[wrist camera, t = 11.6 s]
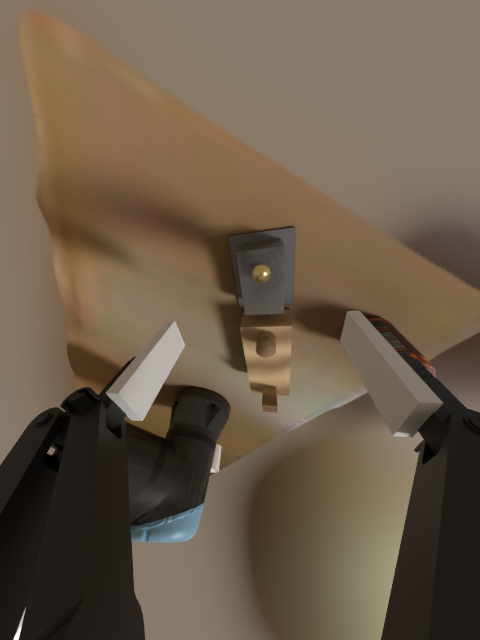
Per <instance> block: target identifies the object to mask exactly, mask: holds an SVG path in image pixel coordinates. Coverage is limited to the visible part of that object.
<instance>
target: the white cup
mask: <svg viewBox="0 0 480 640" xmlns="http://www.w3.org/2000/svg"><path fill="white" fill-rule="evenodd" d="M220 455H221V446H220V445H218V444H216V447H215V452H214V457H213V462H212V467H211V472H210V473H218V472H219V464H220Z"/></svg>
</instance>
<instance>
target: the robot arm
mask: <svg viewBox="0 0 480 640" xmlns="http://www.w3.org/2000/svg"><path fill="white" fill-rule="evenodd" d="M340 342H341V344H342V346H343V348H344V350H345V351H346V353H347V355H348V357H349V358H350V360H351V362H352V364H353V366H354V367H355V369H356V371H357V373H358V375H359V376H360V378H361V380H362V382H363V383H364V385H365V387H366V389H367V391H368V392H369V394H370V396H371V398H372V399H373V401H374V403H375V405H376V407H377V408H378V410H379V412H380V414H381V416H382V417H383V419H384V421H385V423H386V424H387V426H388V428H389V430H390V432H391V433H392V435H393V436H400V437H413V436H414V435H415V434H416V433H417V431H419V432H420V434H421V436H422V437H423V439H424V440H423V441H422V442H421V443H420V444H419V445H418V446H417V447H416V448H415V450H414V451H415V452H418V451H420V452H419V457H418V462H417V467H416V472H415V476H414V482H413V486H412V491H411V496H410V501H409V506H408V511H407V516H406V521H405V526H404V530H403V535H402V540H401V545H400V550H399V555H398V560H397V564H396V569H395V574H394V579H393V584H392V589H391V594H390V598H389V604H388V608H387V613H386V618H385V623H384V628H383V633H382V638H381V640H480V413H479V412H476V411H473V410H470V409H467V408H466V407H465V406H464V405H463V404H462V403H461V402H460V401H459V400H458V399H457V398H456V397H455V396H454V395H453V394H451V392H450V391H449V390H448V389H447V388H446V387H445V386H444V385H443V384H442V383H441V382H440V381H439V380H438V379H437V378H435V377H434V375H433V374H432V373H431V372H430V371H429V370H427V368H426V367H425V366H424V365H423V364H422V363H421V362H420V361H419V360H417V359H416V358H414V357H412V356H411V355H409V354H408V353H397V352H396V350H395V349H394V348H393V347H392V346H391V345H390V344H389V343H388V342H387V341H386V339H385V338H384V337H383V336H382V335H381V334H380V333H379V332H378V331H377V330H376V328H375V327H374V326H373V325H372V324H371V323H370V322H369V321H368V320H367V319H366V317H365V316H364V315H363V314H362V313H361V312H360V311H347V314H346V318H345V322H344V326H343V330H342V335H341V339H340ZM184 347H185V344H184V341H183V339H182V337H181V334H180V332H179V330H178V327H177V325H176V322H175V321H166V322H165V323H164V324H163V326H162V327H161V328H160V329H159V330H158V332H157V333H156V334H155V335H154V336H153V337H152V339H151V340H150V341H149V342H148V343H147V345H146V346H145V347H144V348H143V349H142V350H141V352H140V353H139V354H138V355H137V356H136V357H134V358H133V359H131V360H130V361H129V362H127V363H126V364H125V365H124V367H123V368H122V369H121V370H120V371H119V372H118V374H117V376H115V377H114V378H113V379H112V380H111V382H110V383H109V384H108V385H107V386H106V387H105V388H104V390H103V391H102V392H101V393H100V394H99V395H97V394H96V393H95V392H94V391H93V390H92V389H91V388H89V387H84V388H81V389H79V390H77V391H75V392H74V393H72V394H71V395H69V396H68V397H67V398H66V399H65V400H64V401H63V402H62V404H61V406H60V407H62V408H63V409H64V410H65V412H64V411H62V410H61V409H59V408H57V407H55V408H51V409H48V410H46V411H44V412H42V413H41V414H40V415H38V416H37V417H36V418H35V419H34V420H33V421H32V422H31V423H30V424H29V425H28V427H27V428H26V430H25V431H24V432H23V434H22V435H21V437H20V438H19V439H18V441H17V442H16V444H15V445H14V447H13V448H12V450H11V451H10V452H9V454H8V455H7V457H6V458H5V460H4V461H3V462H2V464H1V465H0V640H145V633H144V621H143V615H142V610H141V607H140V605H139V602H138V600H137V599H136V596H135V592H134V580H133V560H132V541H138V542H163V543H164V542H184V541H187V540H189V539H191V538H192V537H193V536H194V534H195V533H196V531H197V528H198V525H199V521H200V517H201V514H202V510H203V506H204V504H205V496H206V491H207V486H208V482H209V477H210V472H211V467H212V462H213V457H214V452H215V447H216V443H217V440H218V438H219V436H220V434H221V432H222V430H223V428H224V426H225V424H226V422H227V420H228V418H229V413H230V405H229V403H228V402H227V400H226V399H224V398H223V397H222V396H220V395H219V394H217V393H215V392H213V391H210V390H206V389H202V388H185V389H182V390H180V391H179V392H178V393H177V395H176V397H175V399H174V401H173V405H172V412H171V419H170V426H169V430H168V432H167V434H166V437H165V438H163V437H160V436H158V435H156V434H153V433H151V432H149V431H146V430H144V429H142V428H139V427H137V426H135V425H132V424H130V423H128V422H127V421H126V420H123V419H124V418H125V416H126V415H127V416H128V417H129V418H130V419H131V420H136V421H143V419H144V417H145V416H146V414H147V412H148V410H149V409H150V407H151V405H152V403H153V401H154V400H155V398H156V396H157V394H158V393H159V391H160V389H161V387H162V385H163V384H164V382H165V380H166V378H167V377H168V375H169V373H170V371H171V370H172V368H173V366H174V364H175V362H176V361H177V359H178V357H179V355H180V354H181V352H182V350H183V348H184ZM50 447H52V448H54V449H56V450H55V452H54V454H53V455H49V454H47V452H48V450H49V448H50Z"/></svg>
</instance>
